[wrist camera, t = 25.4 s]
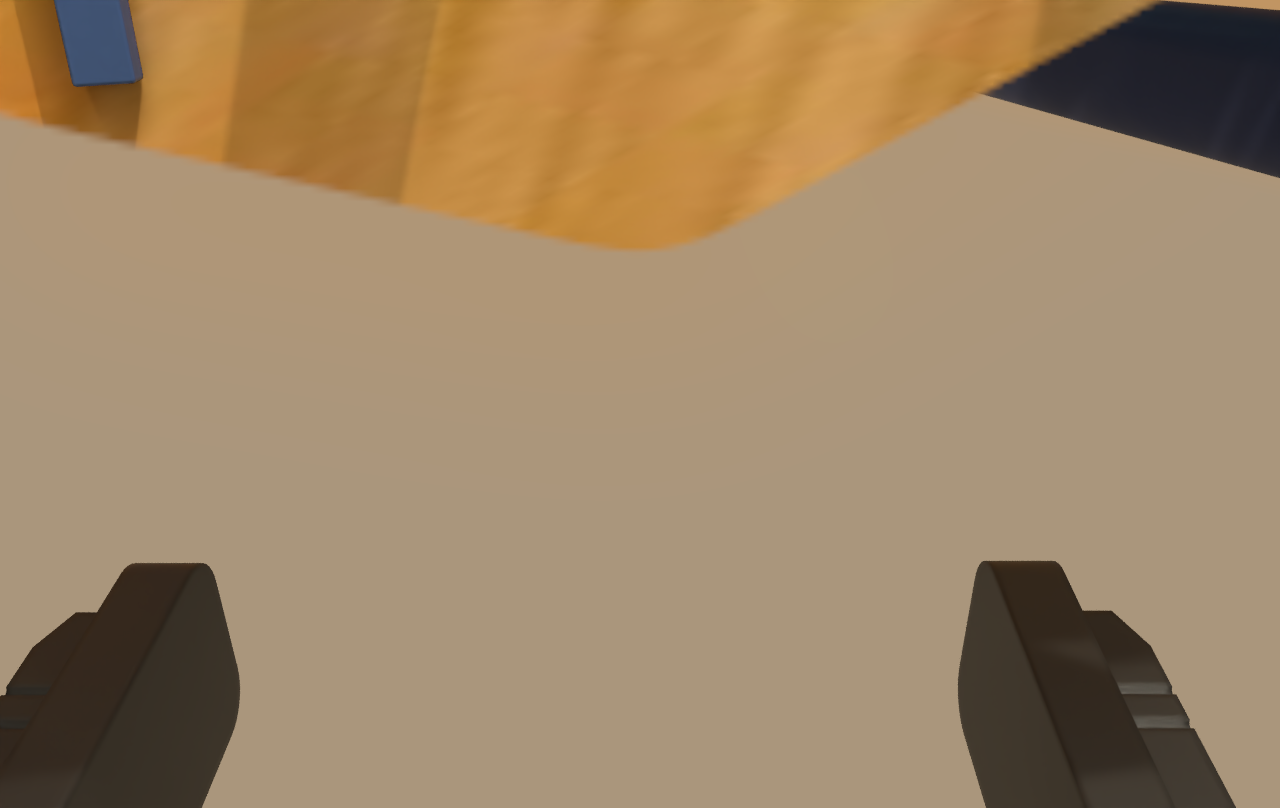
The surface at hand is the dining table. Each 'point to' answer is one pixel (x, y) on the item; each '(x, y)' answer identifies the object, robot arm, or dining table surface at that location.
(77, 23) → the blue paddle stick
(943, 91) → the dining table surface
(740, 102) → the dining table surface
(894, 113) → the dining table surface
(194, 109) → the dining table surface
